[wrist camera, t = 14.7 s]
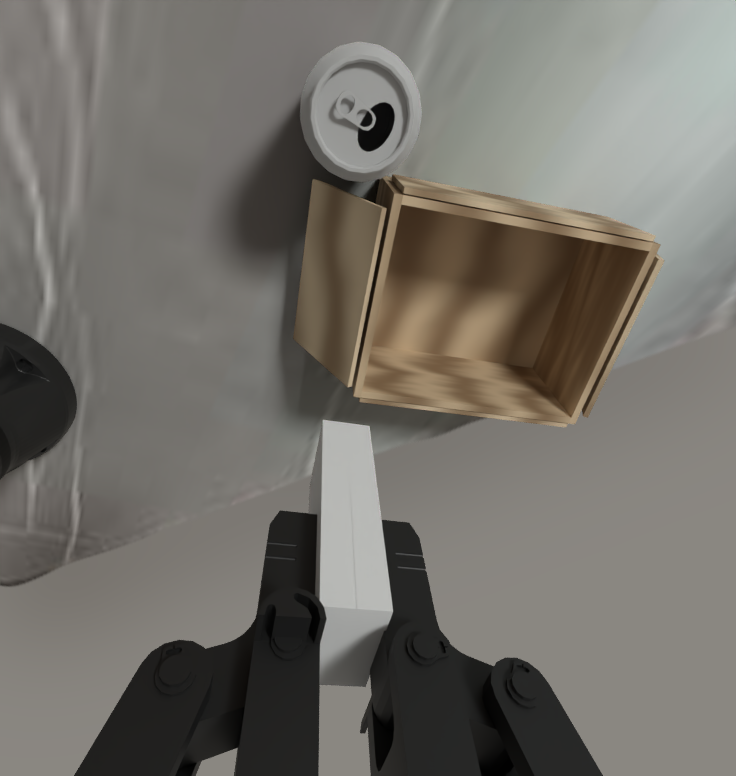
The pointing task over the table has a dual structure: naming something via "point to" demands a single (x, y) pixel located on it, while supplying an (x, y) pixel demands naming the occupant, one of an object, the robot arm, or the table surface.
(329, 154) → the can
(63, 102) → the table surface
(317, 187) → the flap left
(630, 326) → the flap right
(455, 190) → the carton
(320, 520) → the robot arm
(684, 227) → the table surface
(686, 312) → the table surface
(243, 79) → the table surface
